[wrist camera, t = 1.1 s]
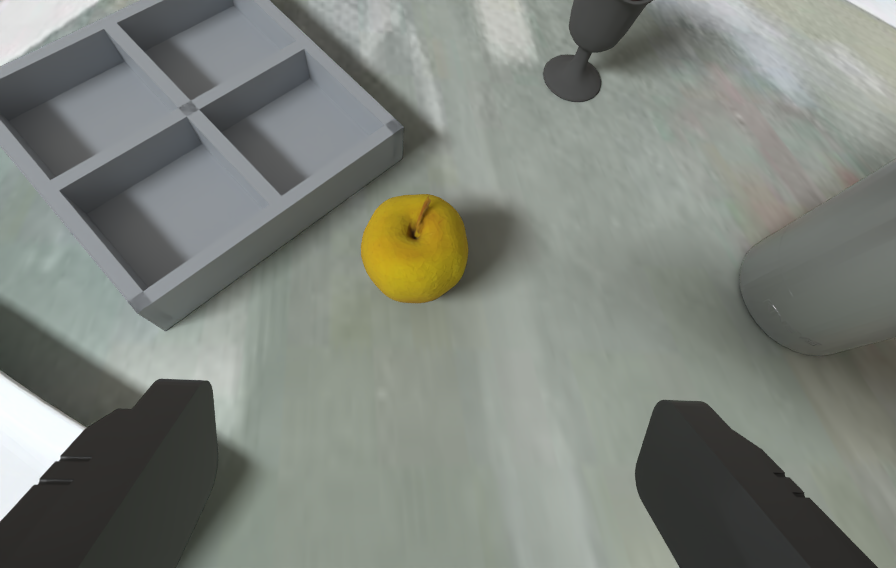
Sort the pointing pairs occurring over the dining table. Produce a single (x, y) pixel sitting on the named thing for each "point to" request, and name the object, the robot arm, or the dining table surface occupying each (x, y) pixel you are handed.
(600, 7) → the sundae
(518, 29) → the dining table surface
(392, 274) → the apple
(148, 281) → the tray
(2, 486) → the salad plate
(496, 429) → the dining table surface
